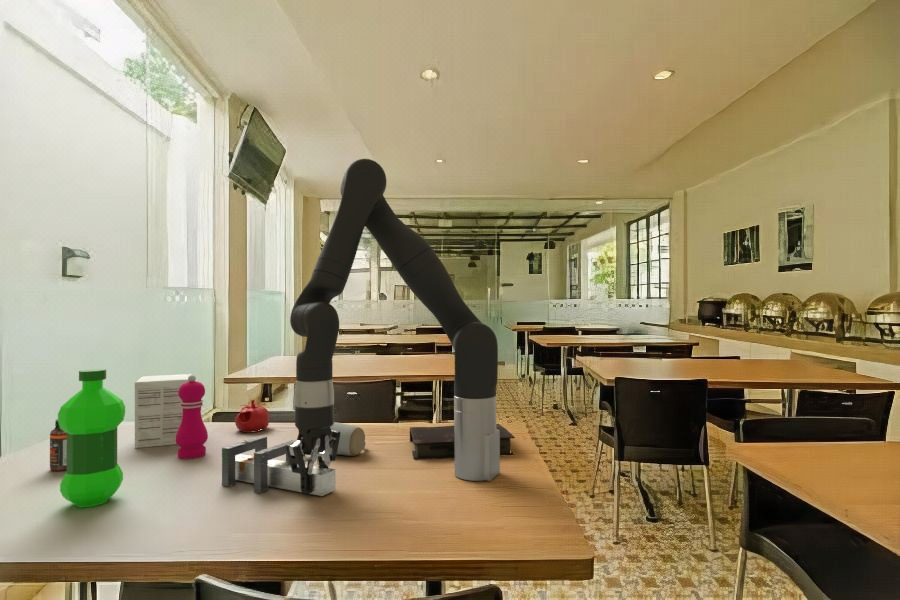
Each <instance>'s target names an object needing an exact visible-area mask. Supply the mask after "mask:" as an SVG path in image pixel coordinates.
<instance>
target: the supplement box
mask: <svg viewBox="0 0 900 600" xmlns="http://www.w3.org/2000/svg"><path fill="white" fill-rule="evenodd" d="M190 375H194V374H192V373H184V374H183V373H181V374H165V375H146V376H145V375H143V376H142V377H140V378H139V379H138V380H136V381H135V382H134V449H141V448H150V447H161V446H171V445H172V446H173V445H177V444H176V434H177V431H178V429H179V427H180V424H181V421H182V416H183V409H182V408H181V402H182V399H181V398H180V397H179V395H178V391H179V388H180V386H181V385H182V384H184V383H186V382H189V381H188V377H189V376H190Z"/></svg>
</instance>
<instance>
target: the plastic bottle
mask: <svg viewBox="0 0 900 600" xmlns="http://www.w3.org/2000/svg"><path fill="white" fill-rule="evenodd" d="M105 380H107V369H106V368H92V369H82V370H79V371H78V381H79V382H81V383H82V385H81V387H82V388H81V390H79V391H78V392H77V393H75V394H74V395H73V396H72V397H70V399H68V400H67V401H66V402H65V403H64V404H62V406H60V409H59V411H58V413H57V419H58V423H59V427H60V429H62V430H63V431H64V432H66V433H67V470H66V472H65V473H64V476H63V477H62V479H61V482H60V484H59V492H60V494H61V495H62V497H63V498H64V499H65V500H66V501H68V502H70V503H71V504H73V505H74V506H76V507H78V508H90V507H94V506H99V505H102V504H104V502H105V503H107V502H109V501H108V500H110V498H112V497H113V496H114V495H115V493H116V492H117V491H118V490H119V488H120V487H121V485H122V482H123V480H124V472H123V471H122V468H121V466H120V465H119V464H118V426H119V425H120V424H121V423H122V422H123V421H124V420H125V416H126V415H125V414H126V405H125V403H124V401H123V400H122V399H121V398H120V397H119V396H117V395H116V394H114V393H113V392H111V391H110V390H108V389H107V388H105V387H104V381H105Z"/></svg>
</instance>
